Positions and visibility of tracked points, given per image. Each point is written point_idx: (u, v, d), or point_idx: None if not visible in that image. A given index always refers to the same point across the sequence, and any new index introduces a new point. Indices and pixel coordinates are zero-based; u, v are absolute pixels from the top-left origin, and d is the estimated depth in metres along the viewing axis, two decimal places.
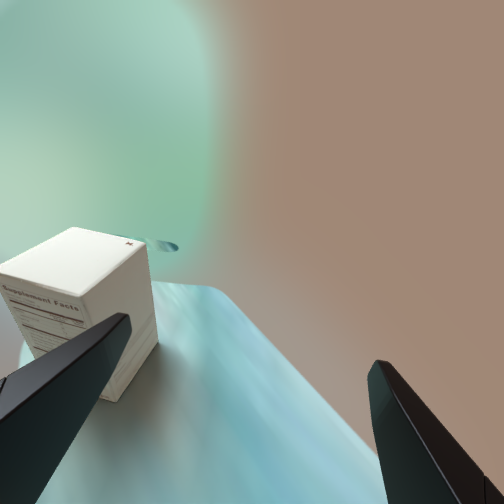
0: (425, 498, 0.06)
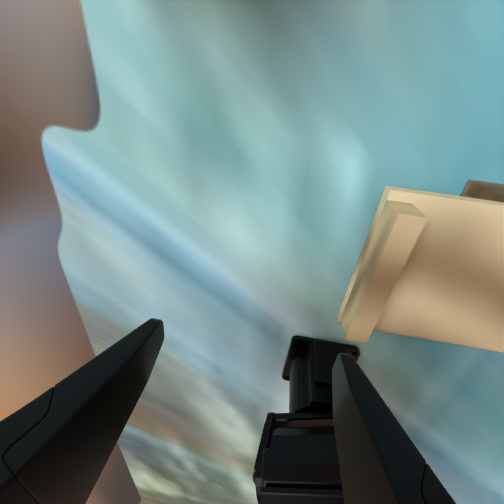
0: (370, 486, 0.06)
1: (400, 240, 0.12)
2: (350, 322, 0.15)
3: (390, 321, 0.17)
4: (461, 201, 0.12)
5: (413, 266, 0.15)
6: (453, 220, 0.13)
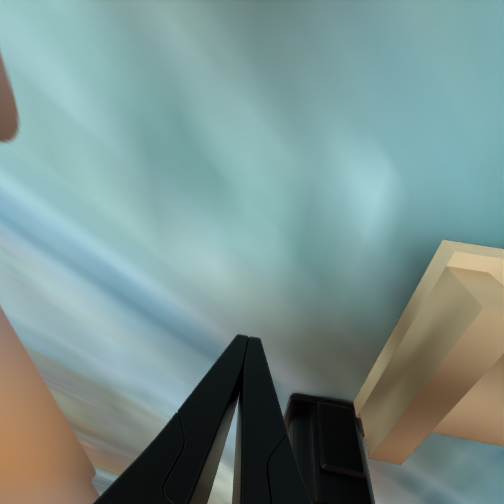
0: (238, 458, 0.06)
1: (478, 346, 0.07)
2: (377, 436, 0.10)
3: None
4: None
5: None
6: None
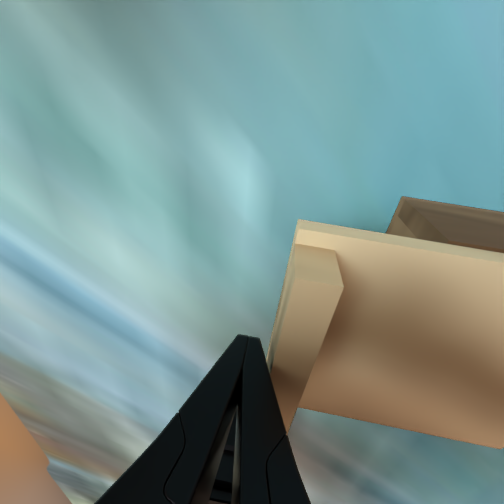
0: (237, 458, 0.06)
1: (305, 317, 0.07)
2: None
3: (326, 401, 0.12)
4: (411, 249, 0.08)
5: (348, 336, 0.10)
6: (401, 277, 0.08)
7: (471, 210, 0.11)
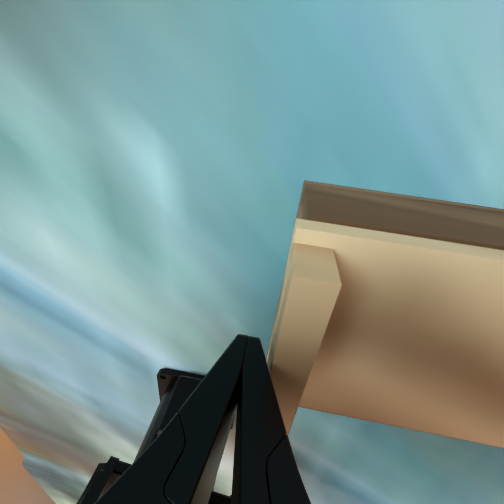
0: (237, 458, 0.06)
1: (304, 316, 0.07)
2: None
3: (327, 401, 0.12)
4: (409, 247, 0.08)
5: (348, 335, 0.10)
6: (400, 275, 0.08)
7: (367, 192, 0.12)
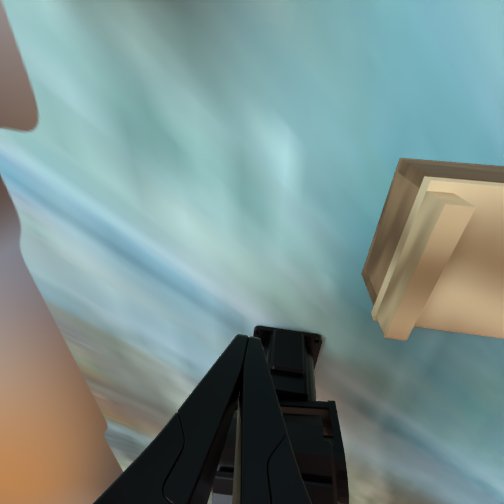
0: (238, 458, 0.06)
1: (446, 231, 0.11)
2: (389, 319, 0.15)
3: (428, 317, 0.16)
4: None
5: (454, 258, 0.14)
6: (498, 208, 0.12)
7: (450, 163, 0.16)
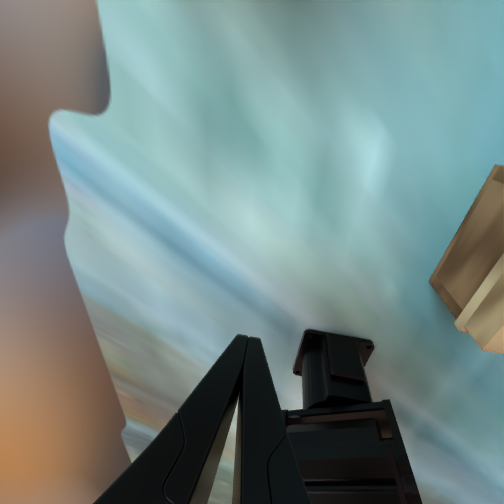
0: (238, 458, 0.06)
1: None
2: (490, 331, 0.14)
3: None
4: None
5: None
6: None
7: None
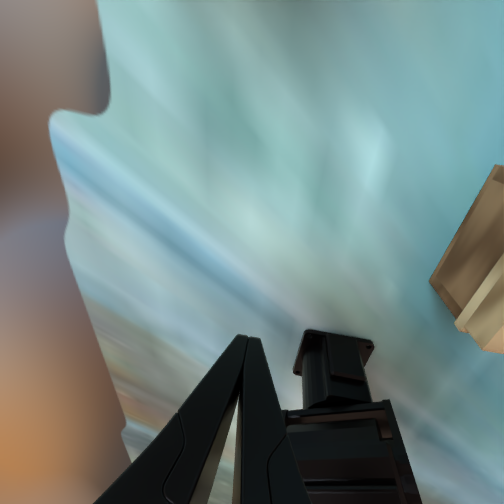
0: (238, 458, 0.06)
1: None
2: (490, 331, 0.14)
3: None
4: None
5: None
6: None
7: None
